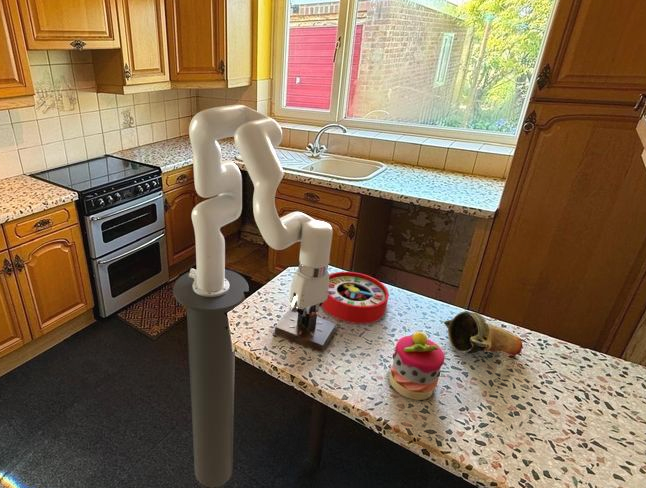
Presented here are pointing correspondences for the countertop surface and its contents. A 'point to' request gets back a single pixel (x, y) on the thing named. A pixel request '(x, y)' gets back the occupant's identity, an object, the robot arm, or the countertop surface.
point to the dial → (310, 319)
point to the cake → (416, 366)
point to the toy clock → (355, 297)
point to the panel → (306, 331)
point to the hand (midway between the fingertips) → (306, 323)
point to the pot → (480, 335)
